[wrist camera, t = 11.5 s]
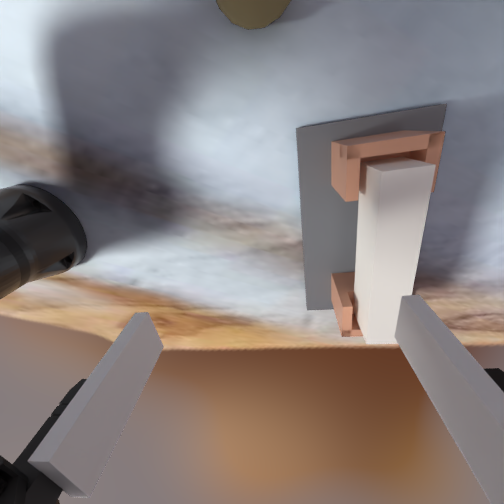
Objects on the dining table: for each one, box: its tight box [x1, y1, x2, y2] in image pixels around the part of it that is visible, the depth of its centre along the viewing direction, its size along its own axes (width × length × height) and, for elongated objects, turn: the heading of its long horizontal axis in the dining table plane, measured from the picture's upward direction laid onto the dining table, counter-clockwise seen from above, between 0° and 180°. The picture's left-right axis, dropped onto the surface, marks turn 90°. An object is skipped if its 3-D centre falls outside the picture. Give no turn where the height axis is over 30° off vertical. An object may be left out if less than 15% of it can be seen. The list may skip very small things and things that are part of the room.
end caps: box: [296, 104, 447, 337], centre depth 30 cm, size 16×28×9 cm, turn 8°
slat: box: [353, 157, 436, 344], centre depth 26 cm, size 4×20×6 cm, turn 9°
